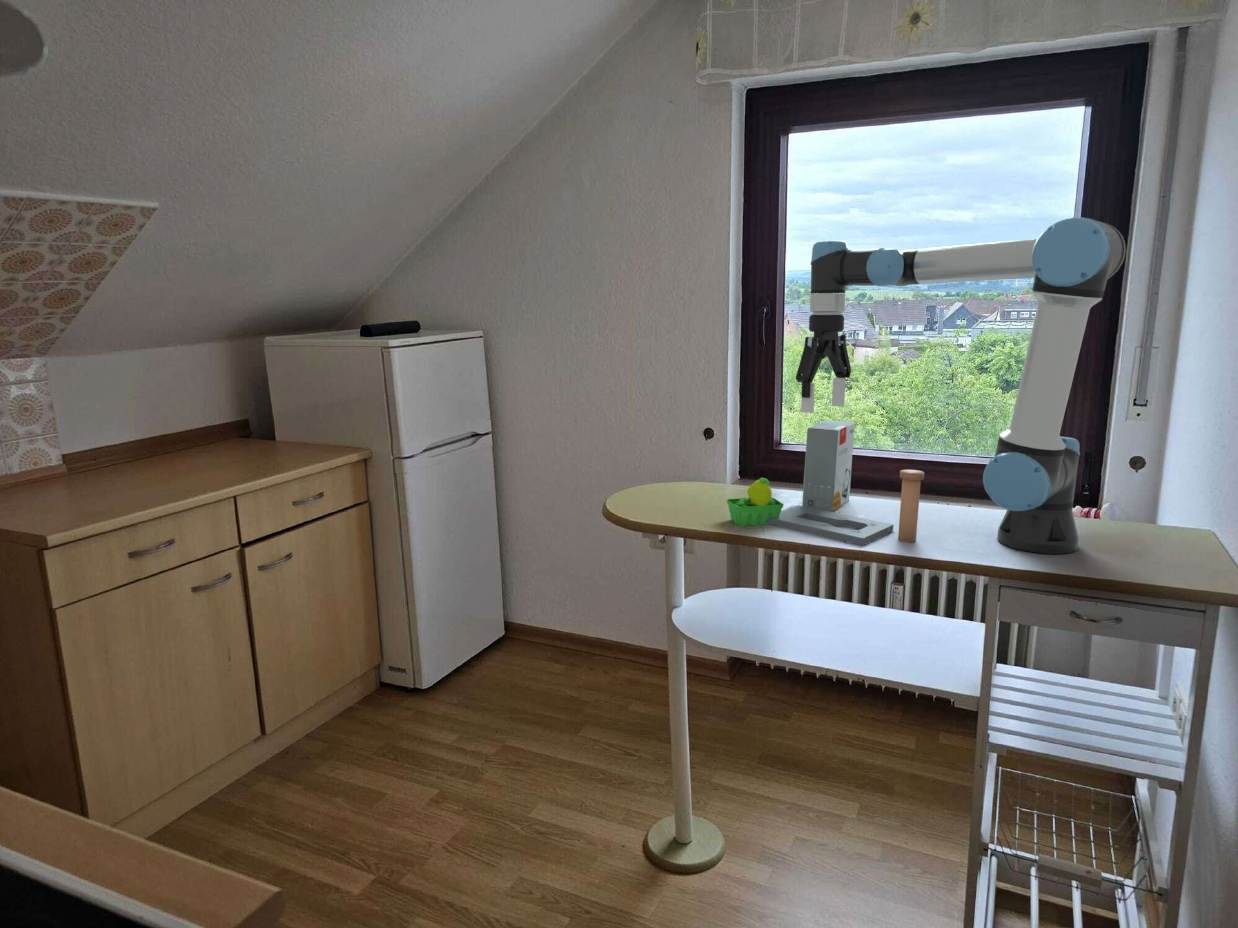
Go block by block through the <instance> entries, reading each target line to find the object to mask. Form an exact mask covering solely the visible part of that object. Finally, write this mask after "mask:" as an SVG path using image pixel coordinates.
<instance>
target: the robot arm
mask: <svg viewBox="0 0 1238 928" xmlns="http://www.w3.org/2000/svg"><path fill="white" fill-rule="evenodd" d="M1124 239H1125V238H1124V236H1123V235H1122V233H1121V232H1120V231H1119V230H1118V229H1117V228H1116V227H1115V226H1113V225H1111V224H1110V223H1107V222H1104V221H1099V220H1095V219H1093V218H1088V217H1087V218H1086V217H1083V216H1082V217H1081V216H1080V217H1071V218H1065V219H1061V220H1059V221H1057V222H1055V223H1053V224H1052V225H1050V226H1049V227H1047V228H1046V229H1044V231H1043V232H1042V233H1040V235H1039V236H1038V237H1037V238H1033V239H1032V238H1031V239H1020V240H1008V241H1006V240H1005V241H997V242H985V243H975V244H963V245H962V244H961V245H952V246H951V245H949V246H940V247H929V248H918V249H903V250H899V249H897V248H888V247H880V248H879V247H878V248H871V249H870V248H869V249H854V250H853V249H849V247H848V243H847V242H846V241H844V240H827V241H825V240H823V241H817V242H815V243H814V244H813V245H812V252H811V261H810V265H811V266H810V298H809V312H810V313H812V314H810V315H809V316H808V317H809V320H808V330H809V332H811V333H813V336H805V338H804V347H803V351H802V354H801V358H800V361H799V365H798V369H797V371H796V375H795V380H796V381H797V383H801V401H800V403H801V404H800V408H801V409H800V412H801V413H807V414H814V410H815V409H814V408H815V390H816V389H815V388H816V387H815V386H816V385H815V384H816V383H815V382H813V381H814V379H815V377H816V374H817V372H818V370H819V368H820V366H821V363H822V362H823V360H824V359H826V357H827V358H828V361H829V363H830V366H831V368H832V371H833V374H834V375H835V376H834V377H832V393H831V394H832V397H831V406H833V407H845V395H846V394H845V393H846V378H848V379H849V378H850V377H851V373H852V369H851V363H850V358H849V353H848V349H847V335H846V334H839V333H842V332H843V331H844V330H845V316H844V314H843V313H844V312H845V310H846V287H853V286H854V287H855V286H860V287H861V286H862V287H866V286H867V287H868V286H869V287H871V286H872V287H874V286H875V287H876V286H877V287H885V286H895V287H907V286H913V285H914V286H915V285H924V284H925V285H927V284H944V283H945V284H946V283H965V282H981V281H1000V280H1001V281H1002V280H1017V279H1034V280H1033V283H1032V288H1031V294H1032V295H1033V296H1034V297H1035V299H1036V301H1037V307H1036V311H1035V315H1034V320H1033V324H1032V329H1031V333H1030V338H1029V341H1028V345H1027V346H1028V347H1027V350H1026V355H1025V360H1024V365H1023V368H1022V372H1021V373H1022V374H1021V377H1020V382H1019V386H1018V390H1017V395H1016V399H1015V404H1014V407H1013V411H1012V416H1011V421H1010V425H1009V427H1008V428H1007V429H1006V430H1004V431H1001V432H1000V434H999V436H998V440H997V444H996V445H997V446H996V448H995V454H994V457H992V458H991V459H989V462H988V463H987V464H986V466H985V468H984V471H983V476H982V482H983V483H982V484H983V486H984V490H985V492H986V494H987V495H988V497H989V498H990V499H991V500H992V501H993V502H994V503H995V504H996V505H998V506H999V507H1001V508H1003V509H1006V511H1005V514H1004V516H1003V518H1002V519H1001V522H1000V524H999V526H998V529H997V541H998V542H999V543H1000V544H1002V545H1004V546H1007V547H1009V548H1012V549H1015V550H1018V551H1019V550H1020V551H1024V552H1030V553H1036V554H1049V555H1054V554H1055V555H1058V554H1059V555H1061V554H1062V555H1064V554H1070V553H1073V552H1076V551H1077V550H1078V547H1079V541H1080V540H1079V539H1080V538H1079V534H1078V530H1077V526H1076V521H1075V518H1074V513H1073V507H1074V499H1075V491H1076V490H1075V489H1076V482H1077V477H1078V476H1077V475H1078V467H1079V460H1080V459H1079V458H1080V456H1081V452H1080V446H1081V445H1080V442H1079V440H1078V439H1077V438H1073V437H1067V436H1060V434H1061V429H1062V425H1063V421H1064V417H1065V412H1066V408H1067V405H1068V402H1069V401H1068V400H1069V398H1070V397H1069V396H1070V393H1071V390H1072V389H1071V388H1072V385H1073V384H1072V383H1073V381H1074V380H1073V379H1074V376H1075V371H1076V368H1077V364H1078V360H1079V355H1080V351H1081V347H1082V343H1083V339H1084V335H1085V331H1086V328H1087V327H1086V326H1087V322H1088V318H1089V314H1090V310H1091V308H1092V307H1093V306H1095V305H1096V304H1098V303H1100V302H1101V301H1102V300H1103V297H1104V292H1105V289H1106V286H1107V281H1108V279H1110V278H1111V277H1113V276H1114V275H1115V274H1116V273H1117V272H1118V271H1119V270H1120V269H1121V268H1120V267H1122V264H1123V263H1124V260H1125V257H1126V252H1127V251H1126V250H1127V249H1126V242H1125V240H1124Z"/></svg>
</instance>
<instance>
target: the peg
mask: <svg viewBox="0 0 1238 928" xmlns="http://www.w3.org/2000/svg"><path fill="white" fill-rule="evenodd" d="M899 478H900V479H901V493H900V494H901V496H900V507H899V508H900V509H899V522H898V535H897V540H898V541H900V542H904V543H914V542H916V541H917V532H918V519H919V517H918V516H919V506H920V493H921V481H922V480H924V479H925V472H924V471H923V470H917V469H902V470H900V471H899Z"/></svg>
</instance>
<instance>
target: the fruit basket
mask: <svg viewBox="0 0 1238 928" xmlns="http://www.w3.org/2000/svg"><path fill="white" fill-rule="evenodd" d="M746 492H747V497H741V498H727V499H726V503H727V506H728V510H729V515H730V520H731V521H733V522H734V523H735V524H737V525H738V526H740V527H742V526H743V527H744V526H756V525H768V524H767V522H768V518H769V517H779V515H780V512H781V511H782V509H783V507H784V503H782V502H781V501H779V500H778V499H776V498H774V497H772V496H773V494H772V493H773V492H772V489H771V487H770V481H769V479H767V478H764V477H760V478H758V479H757V480H755V481H754V482H753V483H752V484H750V485H749V486H748V488H747V491H746Z"/></svg>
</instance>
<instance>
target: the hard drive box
mask: <svg viewBox="0 0 1238 928" xmlns="http://www.w3.org/2000/svg"><path fill="white" fill-rule="evenodd" d="M855 424H856V423H855V422H853V421H852V422H851V421H840V420H827V419H826V420H823V421H821V422H819V423H816V424H813V425H811V426H809V427H807V429H806V431H807V432H806V443H805V444H806V445H805V459H804V471H803V472H804V473H803V488H802V503H801V504H802V505H801V506H804V507H809V508H814V509H819V510H824V511H829V512H835V511H836V510H837V509H839V508H840V507H841V506H843V505H844V504H845V503H847V502H848V501H849V500H850V493H851V481H852V480H851V478H852V462H853V453H854V452H853V448H854V438H855V437H854V435H855Z"/></svg>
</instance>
